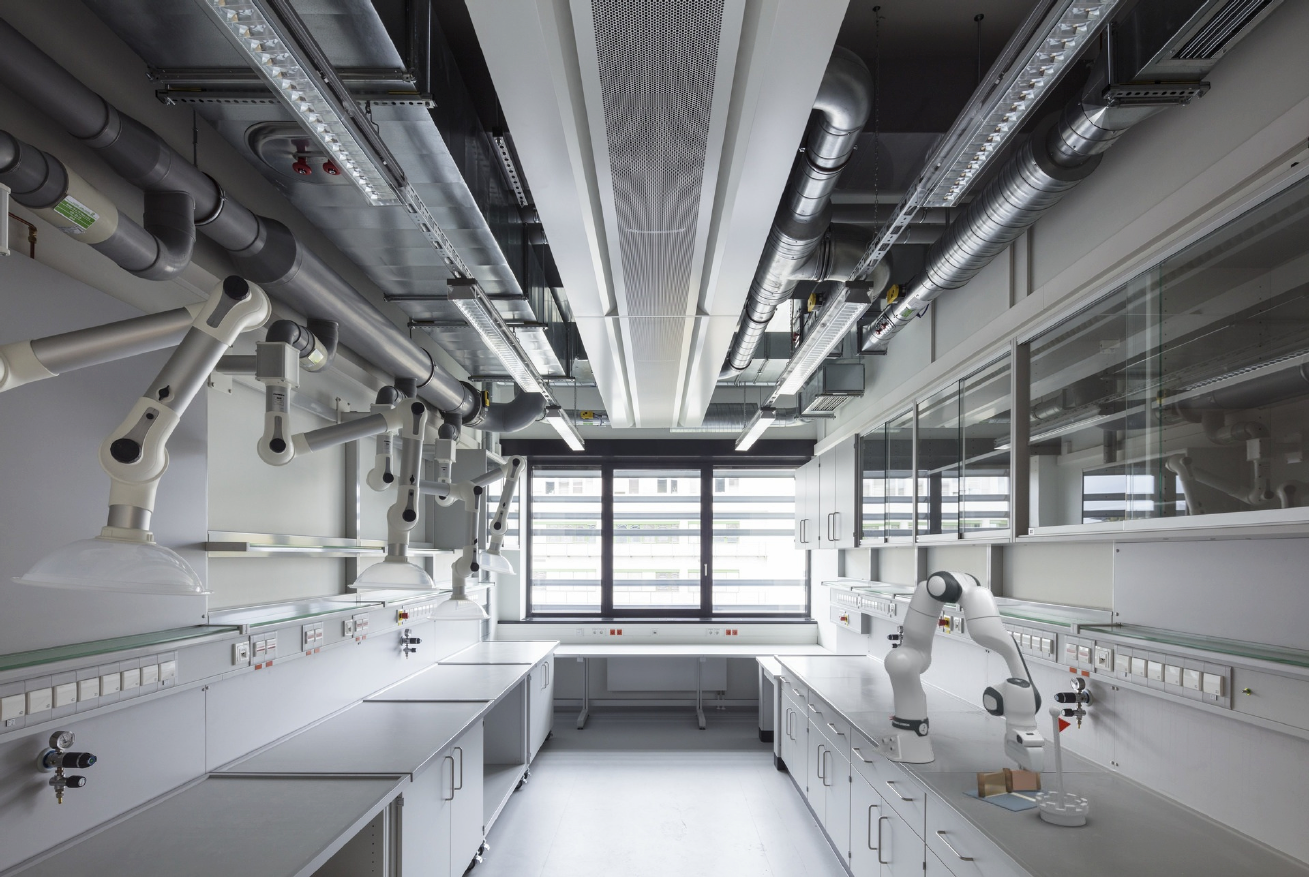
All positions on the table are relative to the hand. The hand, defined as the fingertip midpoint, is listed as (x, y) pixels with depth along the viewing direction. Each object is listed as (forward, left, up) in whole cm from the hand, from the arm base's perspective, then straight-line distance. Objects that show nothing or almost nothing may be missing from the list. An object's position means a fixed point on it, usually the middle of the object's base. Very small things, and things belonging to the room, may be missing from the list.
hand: (1024, 779), depth 242 cm
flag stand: (+23, -13, -3) cm, 26 cm away
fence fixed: (0, -13, -3) cm, 13 cm away
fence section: (+2, -2, -2) cm, 3 cm away
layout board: (+3, -8, -3) cm, 9 cm away
